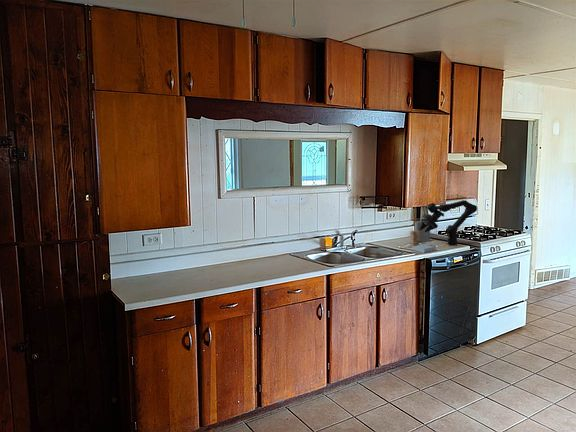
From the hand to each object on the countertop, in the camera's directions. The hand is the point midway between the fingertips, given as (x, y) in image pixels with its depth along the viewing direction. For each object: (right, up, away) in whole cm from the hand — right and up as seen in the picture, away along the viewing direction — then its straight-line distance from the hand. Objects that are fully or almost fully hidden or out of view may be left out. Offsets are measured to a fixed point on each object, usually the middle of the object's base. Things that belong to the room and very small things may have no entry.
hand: (422, 231), depth 378 cm
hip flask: (+6, -10, +22) cm, 25 cm away
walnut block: (-6, -13, +1) cm, 14 cm away
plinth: (-2, -15, -12) cm, 19 cm away
